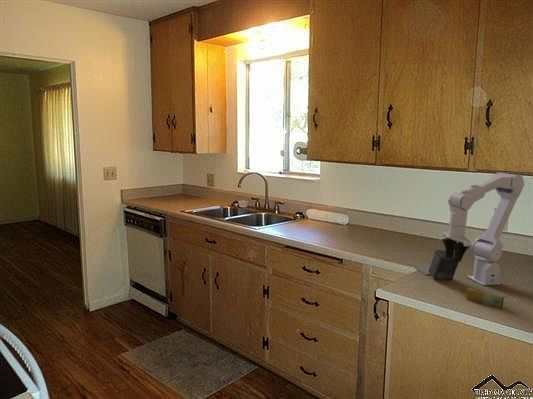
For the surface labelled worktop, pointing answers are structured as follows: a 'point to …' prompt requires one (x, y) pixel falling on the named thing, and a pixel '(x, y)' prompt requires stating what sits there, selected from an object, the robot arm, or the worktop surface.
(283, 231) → the worktop surface
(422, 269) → the gray flat panel
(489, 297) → the medication box
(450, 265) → the box
